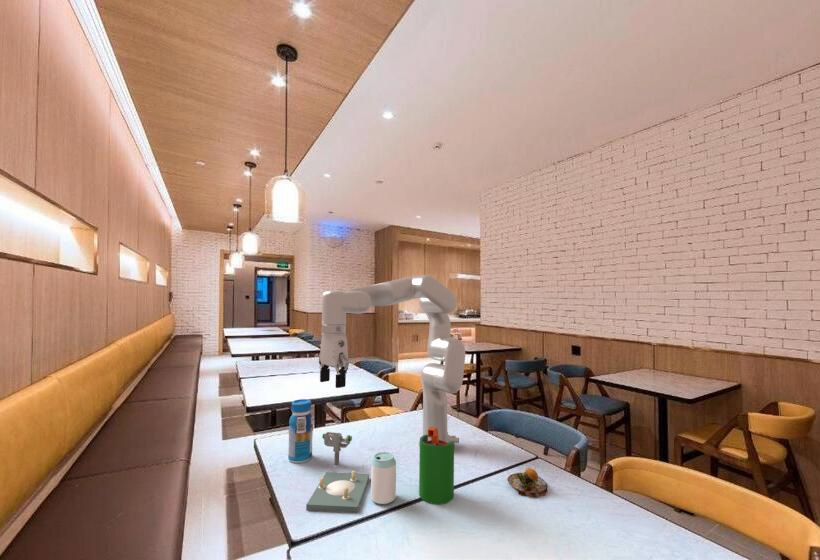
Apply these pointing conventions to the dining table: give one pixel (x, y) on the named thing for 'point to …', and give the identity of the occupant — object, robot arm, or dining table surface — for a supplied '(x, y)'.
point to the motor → (436, 469)
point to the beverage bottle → (300, 432)
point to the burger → (528, 483)
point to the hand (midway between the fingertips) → (332, 384)
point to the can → (383, 478)
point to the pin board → (339, 492)
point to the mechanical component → (336, 443)
